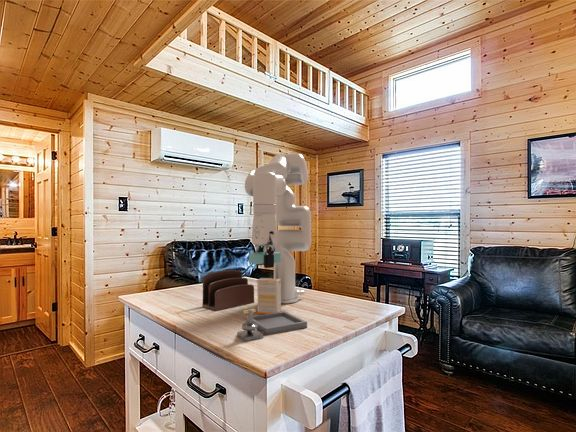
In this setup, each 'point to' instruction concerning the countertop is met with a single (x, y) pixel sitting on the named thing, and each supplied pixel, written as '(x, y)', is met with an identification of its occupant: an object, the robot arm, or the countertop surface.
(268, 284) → the supplement box
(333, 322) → the countertop surface
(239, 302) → the letter holder
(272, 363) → the countertop surface
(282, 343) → the countertop surface
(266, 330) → the tray
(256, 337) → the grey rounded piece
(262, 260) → the teal rectangular frame
